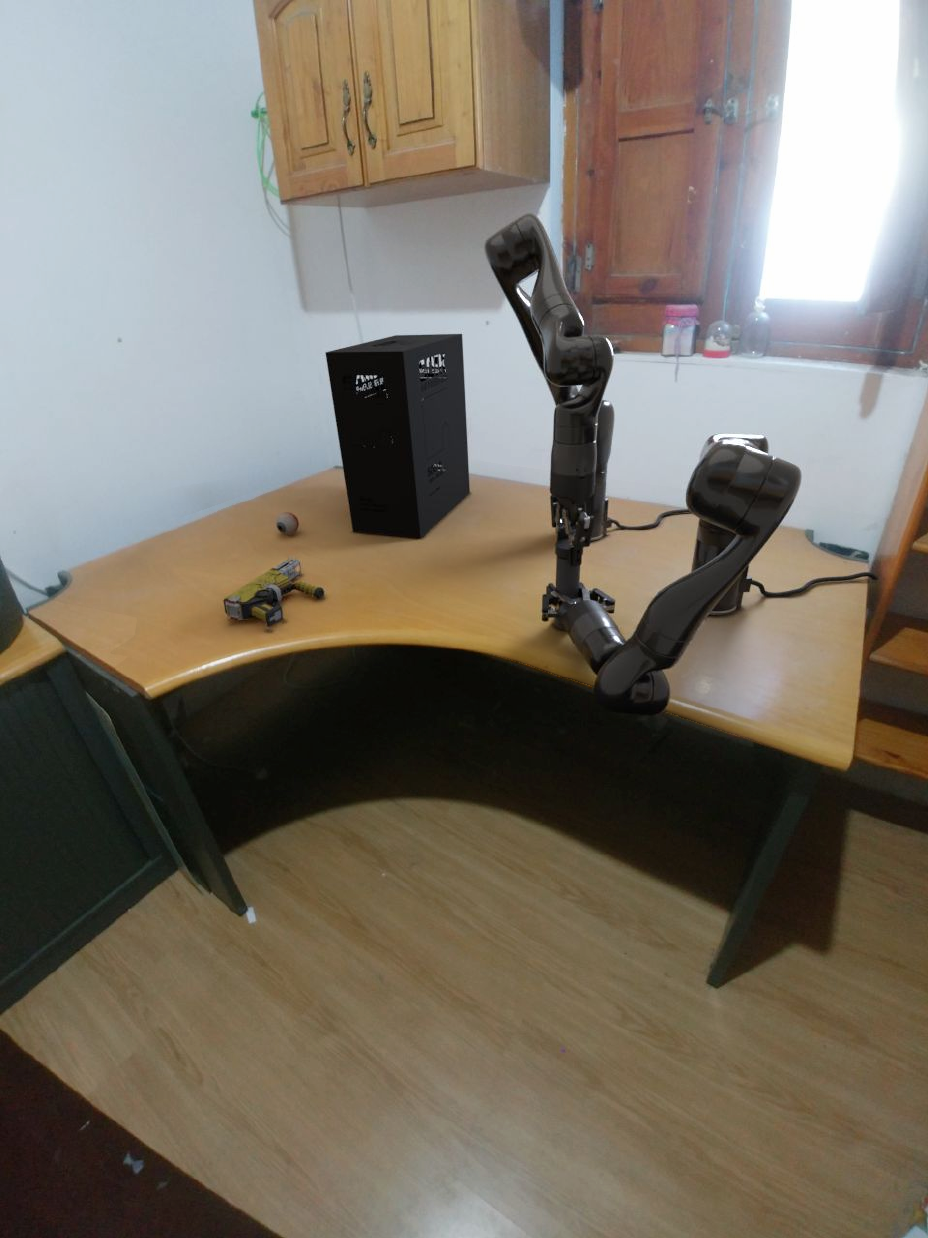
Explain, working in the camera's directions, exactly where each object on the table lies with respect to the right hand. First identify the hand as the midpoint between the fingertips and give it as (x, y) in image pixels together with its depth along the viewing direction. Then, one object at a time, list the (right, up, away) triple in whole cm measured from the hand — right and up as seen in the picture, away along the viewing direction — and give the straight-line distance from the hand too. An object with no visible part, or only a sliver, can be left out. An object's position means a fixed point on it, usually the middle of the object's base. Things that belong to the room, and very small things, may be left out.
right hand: (562, 586), depth 115 cm
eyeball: (-67, +17, +50) cm, 85 cm away
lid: (0, +7, -7) cm, 10 cm away
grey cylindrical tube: (+1, -7, +1) cm, 7 cm away
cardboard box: (-33, +25, +61) cm, 74 cm away
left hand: (0, +5, -6) cm, 8 cm away
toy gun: (-57, -2, +16) cm, 59 cm away
